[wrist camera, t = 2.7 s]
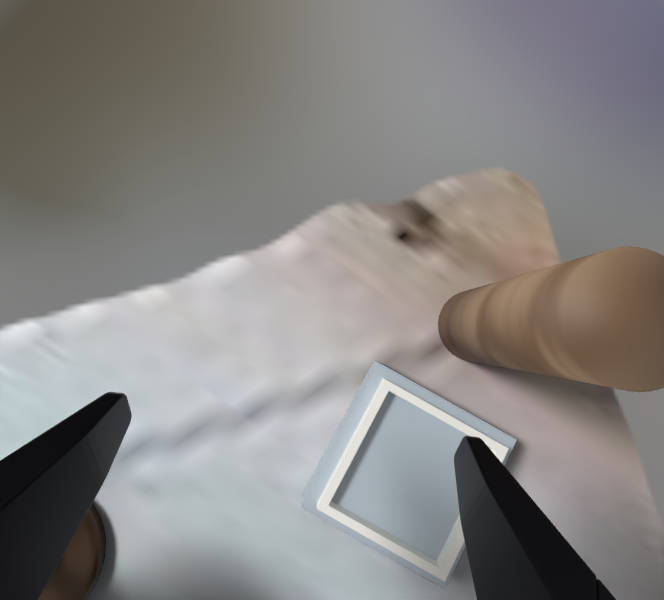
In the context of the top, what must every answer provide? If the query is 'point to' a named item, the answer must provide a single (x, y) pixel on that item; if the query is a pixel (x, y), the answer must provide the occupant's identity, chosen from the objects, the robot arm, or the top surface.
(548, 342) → the walnut pillar
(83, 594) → the candlestick
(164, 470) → the top surface
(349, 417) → the base plate
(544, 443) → the top surface
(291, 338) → the top surface
